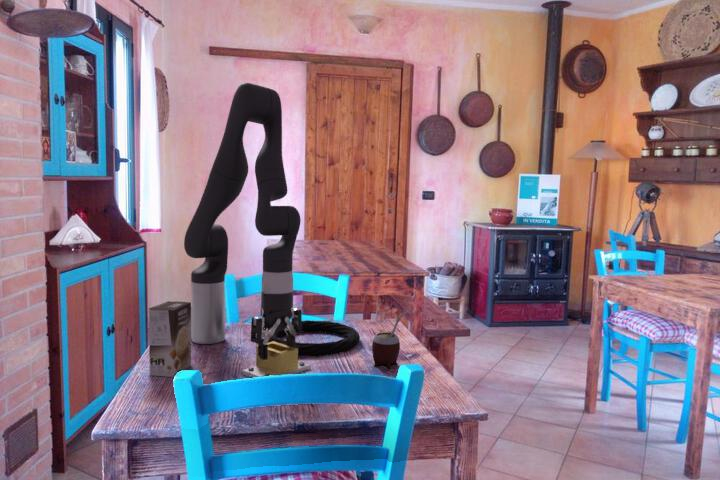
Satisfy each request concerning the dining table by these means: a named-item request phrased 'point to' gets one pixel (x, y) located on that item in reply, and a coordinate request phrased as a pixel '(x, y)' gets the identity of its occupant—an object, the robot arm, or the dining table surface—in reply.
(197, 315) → the robot arm
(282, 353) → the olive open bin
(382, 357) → the mate gourd
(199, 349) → the dining table surface
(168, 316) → the coffee box
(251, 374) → the plate
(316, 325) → the cable lock
